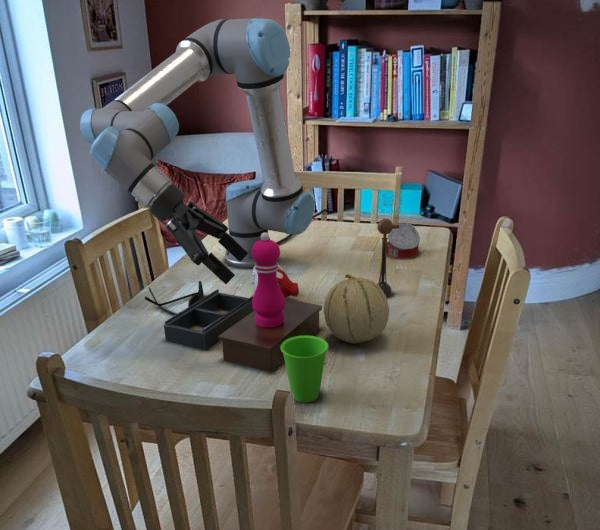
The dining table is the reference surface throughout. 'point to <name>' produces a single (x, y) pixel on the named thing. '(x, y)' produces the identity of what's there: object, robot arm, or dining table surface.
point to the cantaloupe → (356, 310)
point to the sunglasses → (193, 299)
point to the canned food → (403, 242)
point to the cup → (304, 365)
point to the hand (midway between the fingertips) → (237, 268)
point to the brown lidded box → (268, 336)
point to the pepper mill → (267, 284)
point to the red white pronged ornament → (281, 283)
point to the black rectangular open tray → (207, 319)
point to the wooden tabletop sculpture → (385, 228)
